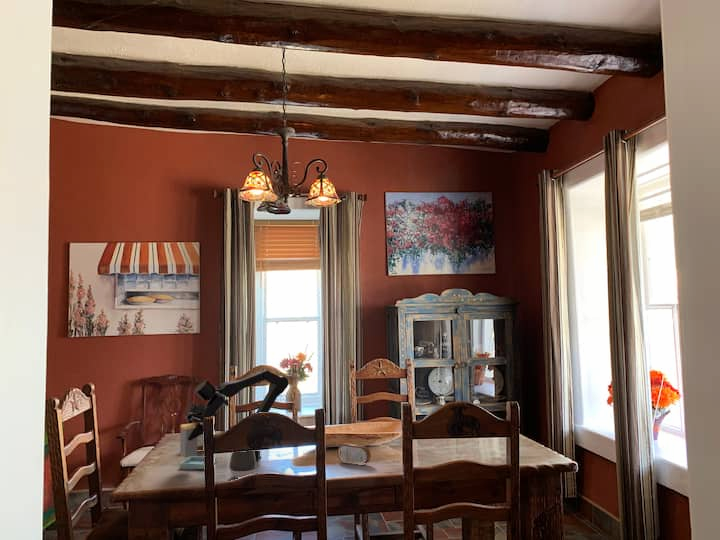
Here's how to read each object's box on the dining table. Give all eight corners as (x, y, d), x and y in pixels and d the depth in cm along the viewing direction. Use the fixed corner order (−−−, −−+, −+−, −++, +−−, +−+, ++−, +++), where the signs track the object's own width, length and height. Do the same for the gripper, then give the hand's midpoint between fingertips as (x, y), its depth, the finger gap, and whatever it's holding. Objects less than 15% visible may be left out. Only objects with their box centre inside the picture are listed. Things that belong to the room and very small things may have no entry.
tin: (370, 465, 220) (371, 445, 220) (367, 467, 217) (368, 446, 218) (339, 461, 226) (339, 441, 227) (336, 462, 223) (336, 442, 224)
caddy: (191, 452, 214) (192, 422, 215) (197, 455, 210) (198, 424, 211) (179, 454, 210) (180, 424, 211) (185, 457, 206) (185, 426, 207)
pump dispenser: (223, 477, 202) (224, 437, 203) (245, 471, 209) (246, 433, 211) (238, 482, 195) (240, 441, 196) (261, 476, 202) (262, 437, 204)
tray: (216, 462, 222) (216, 457, 222) (205, 470, 210) (205, 464, 211) (191, 461, 223) (191, 456, 223) (179, 468, 212) (179, 463, 212)
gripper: (189, 393, 222) (163, 423, 213) (209, 398, 208) (182, 430, 199) (206, 409, 226) (181, 439, 218) (226, 415, 212) (200, 447, 204)
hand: (185, 438), depth 210 cm, fingers closed on caddy, 5 cm apart
